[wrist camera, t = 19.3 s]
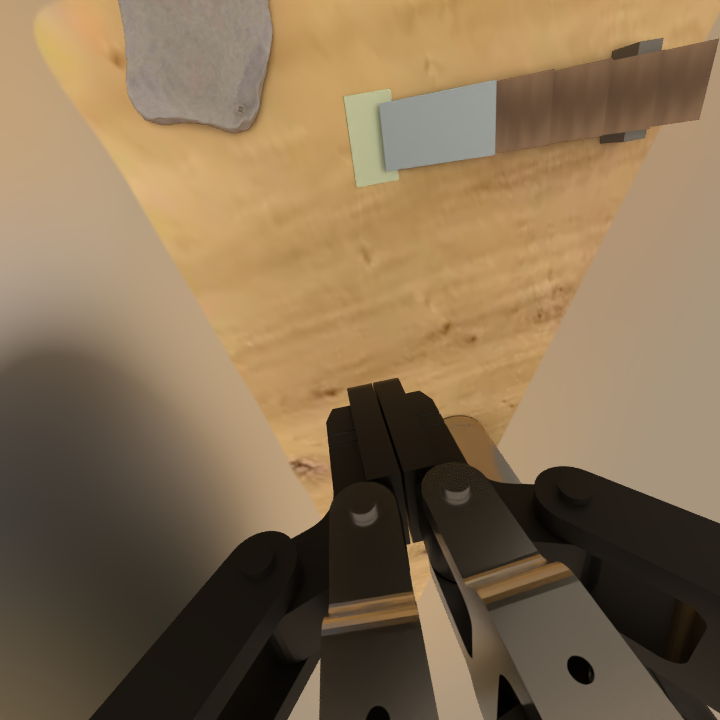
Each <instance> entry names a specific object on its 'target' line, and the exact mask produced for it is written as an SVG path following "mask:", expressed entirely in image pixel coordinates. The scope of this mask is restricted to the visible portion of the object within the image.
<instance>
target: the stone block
mask: <svg viewBox="0 0 720 720" xmlns="http://www.w3.org/2000/svg"><path fill="white" fill-rule="evenodd" d="M118 1H119V6H120V11H121V16H122V22H123V27H124V35H125V43H126V58H127V71H126V83H127V91H128V96H129V98H130V100H131V102H132V104H133V106H134V108H135V109H136V110H137V111H138V112H139V113H140V114H141V115H142V116H143V118H144V119H145V120H147V121H150V122H154V123H158V124H161V125H170V124H180V123H193V122H194V123H199V124H207V125H211V126H214V127H217V128H219V129H222V130H225V131H228V132H232V133H237V132H239V131H245V130H247V129H248V128H249V127H251V125H252V123H253V121H254V120H255V119H256V116H257V114H258V111H259V108H260V100H261V92H262V87H263V82H264V79H265V77H266V73H267V63H268V60H269V56H270V48H271V43H272V36H273V28H272V23H271V17H270V11H269V0H118Z"/></svg>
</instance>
